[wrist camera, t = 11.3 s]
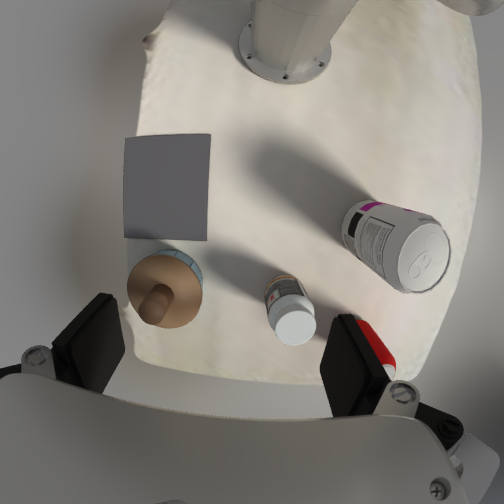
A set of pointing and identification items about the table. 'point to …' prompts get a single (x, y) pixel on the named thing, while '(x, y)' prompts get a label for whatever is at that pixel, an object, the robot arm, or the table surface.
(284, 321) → the pill bottle
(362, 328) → the beverage can
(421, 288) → the supplement can
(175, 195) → the mat
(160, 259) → the lid
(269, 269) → the table surface
